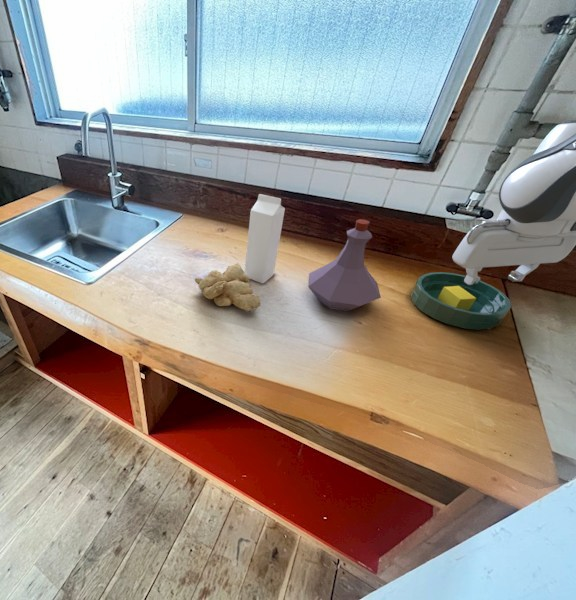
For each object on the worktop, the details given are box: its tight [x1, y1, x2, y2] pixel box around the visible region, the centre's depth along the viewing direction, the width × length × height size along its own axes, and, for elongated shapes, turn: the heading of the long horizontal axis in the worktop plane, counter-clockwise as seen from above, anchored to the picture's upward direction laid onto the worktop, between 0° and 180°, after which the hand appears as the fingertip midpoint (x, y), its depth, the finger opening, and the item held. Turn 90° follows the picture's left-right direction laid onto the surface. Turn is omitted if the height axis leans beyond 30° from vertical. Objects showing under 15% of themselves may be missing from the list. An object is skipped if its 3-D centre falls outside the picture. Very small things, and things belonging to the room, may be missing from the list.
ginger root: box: [194, 263, 262, 312], centre depth 79 cm, size 16×16×8 cm
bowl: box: [410, 271, 512, 331], centre depth 73 cm, size 17×17×4 cm
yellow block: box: [437, 286, 476, 311], centre depth 73 cm, size 5×4×4 cm
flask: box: [307, 218, 382, 312], centre depth 72 cm, size 16×16×20 cm
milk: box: [243, 193, 286, 285], centre depth 82 cm, size 6×6×22 cm
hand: (491, 281), depth 67 cm, fingers open, 8 cm apart
